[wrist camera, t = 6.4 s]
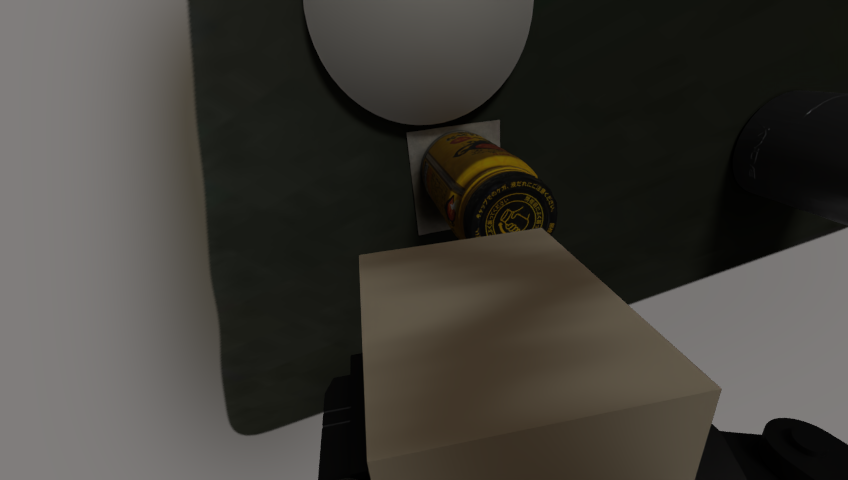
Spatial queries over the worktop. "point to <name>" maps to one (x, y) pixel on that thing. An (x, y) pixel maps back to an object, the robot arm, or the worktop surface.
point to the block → (519, 370)
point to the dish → (419, 52)
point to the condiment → (475, 184)
